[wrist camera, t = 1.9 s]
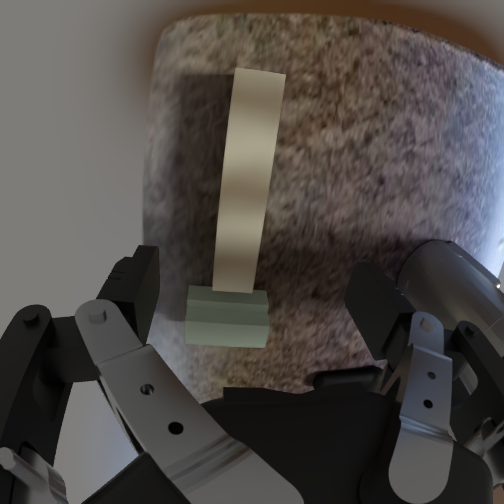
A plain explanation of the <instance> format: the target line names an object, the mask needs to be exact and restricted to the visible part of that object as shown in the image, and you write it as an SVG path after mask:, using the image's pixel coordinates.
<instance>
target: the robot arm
mask: <svg viewBox="0 0 504 504" xmlns="http://www.w3.org/2000/svg"><path fill="white" fill-rule="evenodd" d="M500 284H501V283H500V281H499V279H498V278H496V277H495V276H494V275H493V274H492V273H491V272H490V271H489V270H487V269H486V268H485V267H484V266H483V265H482V264H480V263H479V262H478V261H477V260H476V259H474V258H473V257H472V256H471V255H470V254H468V253H467V252H466V251H465V250H463V249H462V248H461V247H460V246H458V245H457V244H456V243H455V242H451V243H446V242H443V241H440V240H434V241H430V242H427V243H425V244H423V245H421V246H420V247H418V248H417V249H416V250H415V251H414V252H413V253H412V254H411V255H410V256H409V257H408V259H407V260H406V262H405V263H404V265H403V266H402V269H401V271H400V273H399V277H398V283H397V286H396V284H395V283H394V282H393V281H392V280H391V279H389V278H388V277H387V276H385V275H384V273H383V272H382V271H381V270H380V269H379V267H378V266H377V265H376V264H375V263H372V262H357V263H356V264H355V266H354V269H353V272H352V275H351V278H350V281H349V284H348V287H347V290H346V293H345V305H346V307H347V309H348V311H349V313H350V315H351V317H352V318H353V320H354V322H355V324H356V326H357V328H358V330H359V331H360V333H361V335H362V337H363V339H364V341H365V343H366V345H367V347H368V349H369V351H370V352H371V354H372V356H373V358H374V360H384V359H387V361H388V362H387V363H386V365H385V367H384V369H383V372H382V376H381V379H380V382H379V385H378V388H377V391H376V393H375V392H370V391H365V389H364V386H363V384H362V382H361V381H358V382H349V383H339V384H331V385H328V386H325V387H322V388H319V389H315V390H312V391H309V392H306V393H302V394H294V393H288V392H282V391H276V390H271V389H265V388H239V387H223V396H222V398H218V399H214V400H210V401H207V402H205V403H202V404H199V403H198V401H197V400H196V399H195V398H194V397H193V396H192V394H191V393H190V392H189V391H188V390H187V389H186V387H185V386H184V385H183V384H182V383H181V381H180V380H179V379H178V378H177V377H176V375H175V374H174V373H173V372H172V370H171V369H170V368H169V367H168V365H167V364H166V363H165V361H164V360H163V359H162V358H161V356H160V355H159V354H158V352H157V351H156V350H155V348H154V347H153V346H152V345H150V344H146V342H147V338H148V334H149V330H150V326H151V322H152V318H153V315H154V311H155V307H156V304H157V300H158V296H159V289H160V274H159V249H158V247H157V246H145V245H139V246H138V248H137V249H136V251H135V253H134V255H133V257H124V258H123V259H121V260H120V261H118V262H117V263H116V264H115V266H114V268H113V269H112V272H111V273H110V275H109V276H108V279H107V280H106V281H105V283H104V285H103V287H102V289H101V290H100V292H99V294H98V296H97V298H96V300H91V301H88V302H86V303H84V304H82V305H81V306H80V307H79V308H78V309H77V311H76V313H75V316H70V317H61V318H60V317H59V318H52V316H51V313H50V311H49V309H47V307H45V306H43V305H30V306H26V307H24V308H22V309H21V310H19V311H18V312H17V313H16V315H15V316H14V317H13V319H12V321H11V322H10V324H9V325H8V327H7V329H6V330H5V332H4V334H3V335H2V337H1V339H0V504H69V503H68V501H67V497H66V487H65V483H64V480H63V478H62V477H61V475H60V474H59V473H58V472H57V471H56V470H55V469H54V468H53V464H54V459H55V454H56V449H57V444H58V439H59V435H60V430H61V426H62V422H63V418H64V414H65V410H66V406H67V403H68V399H69V396H70V392H71V388H72V385H73V382H85V381H94V380H96V381H97V383H98V385H99V387H100V389H101V391H102V393H103V395H104V397H105V399H106V401H107V402H108V404H109V406H110V408H111V410H112V412H113V413H114V415H115V417H116V419H117V421H118V422H119V424H120V426H121V428H122V430H123V431H124V433H125V435H126V437H127V438H128V440H129V442H130V443H131V445H132V447H133V448H134V450H135V451H136V453H137V454H138V457H137V458H135V459H134V460H133V461H132V462H131V463H130V464H129V465H127V466H126V467H125V468H124V469H123V470H122V471H120V472H119V473H118V474H117V475H116V476H115V477H114V478H112V479H111V480H110V481H108V482H107V483H106V484H105V485H104V486H102V487H101V488H100V489H99V490H97V491H96V492H95V493H94V494H92V495H91V496H90V497H89V498H87V499H86V500H85V501H84V502H83V503H81V504H493V490H494V489H496V488H497V487H499V486H500V485H502V488H503V490H504V293H503V292H502V291H501V290H500ZM449 424H450V426H451V429H452V431H453V433H454V435H455V438H456V440H457V442H456V441H455V440H453V439H452V437H451V436H450V435H449V433H448V430H449Z"/></svg>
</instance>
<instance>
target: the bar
mask: <svg viewBox="0 0 504 504" xmlns="http://www.w3.org/2000/svg"><path fill="white" fill-rule="evenodd" d="M285 78H286V75H284V74H278V73H272V72H266V71H259V70H251V69H243V68H236V69H235V74H234V81H233V88H232V95H231V103H230V111H229V118H228V127H227V135H226V143H225V152H224V161H223V170H222V180H221V189H220V199H219V210H218V221H217V232H216V244H215V256H214V270H213V287H212V291H226V292H241V293H252V292H253V286H254V280H255V273H256V267H257V261H258V254H259V248H260V242H261V235H262V229H263V223H264V216H265V210H266V203H267V197H268V190H269V184H270V177H271V171H272V164H273V158H274V151H275V145H276V138H277V131H278V125H279V118H280V111H281V105H282V98H283V91H284V84H285Z"/></svg>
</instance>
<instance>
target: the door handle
mask: <svg viewBox="0 0 504 504" xmlns="http://www.w3.org/2000/svg"><path fill="white" fill-rule="evenodd" d="M382 372H383V369H381V368H379V367H374V368H371V369H370V370H359V371H344V372H325V373H320V374H318V375H317V376H316V377H315V379H314V382H313V386H314V389H319V388H322V387H325V386H328V385H331V384H339V383H349V382H358V381H361V382H362V384H363V386H364V389H365V391H370V392H375V393H376V391H377V388H378V385H379V382H380V379H381V376H382Z"/></svg>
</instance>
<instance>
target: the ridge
mask: <svg viewBox="0 0 504 504" xmlns="http://www.w3.org/2000/svg"><path fill="white" fill-rule="evenodd" d="M268 308H269V302H268V298H267V293H266V290H253V292H252V293H241V292H226V291H212V287H208V286H196V285H189V290H188V296H187V310H186V317H185V343H188V344H201V345H215V346H233V347H258V348H265V345H266V341H267V337H268V333H269V328H270V323H269V318H268V313H267V312H268Z"/></svg>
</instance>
